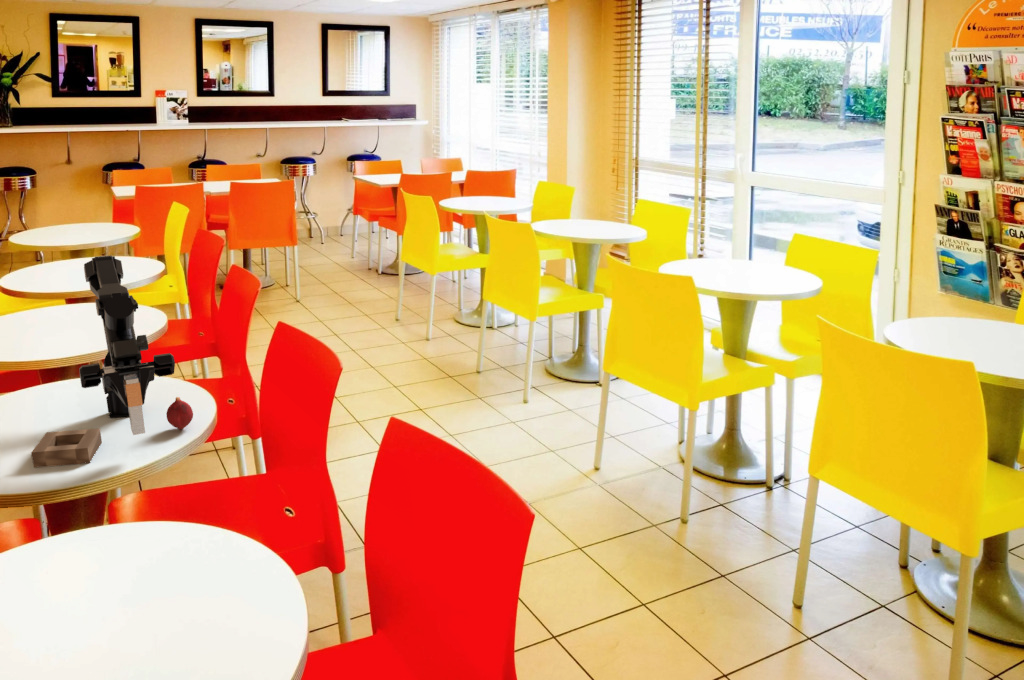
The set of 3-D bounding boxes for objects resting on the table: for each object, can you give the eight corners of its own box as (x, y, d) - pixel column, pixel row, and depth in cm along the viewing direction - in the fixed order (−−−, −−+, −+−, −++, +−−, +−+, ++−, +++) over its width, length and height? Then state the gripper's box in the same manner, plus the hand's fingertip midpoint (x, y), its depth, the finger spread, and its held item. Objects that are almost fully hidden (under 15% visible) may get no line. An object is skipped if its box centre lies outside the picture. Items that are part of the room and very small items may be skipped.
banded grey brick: (130, 429, 185) (122, 375, 182) (143, 427, 187) (136, 373, 183) (132, 435, 182) (124, 380, 178) (146, 433, 183) (139, 378, 180)
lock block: (101, 442, 193) (99, 428, 192) (89, 462, 183) (87, 447, 182) (49, 446, 191) (46, 432, 190) (33, 467, 180) (31, 452, 179)
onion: (199, 429, 201) (195, 397, 198) (175, 436, 197) (171, 403, 194) (187, 422, 204) (183, 391, 202) (164, 429, 200) (160, 397, 198)
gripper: (73, 329, 176) (85, 396, 170) (168, 317, 185) (183, 380, 179) (75, 355, 185) (87, 419, 179) (166, 342, 194) (180, 403, 188)
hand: (135, 405), depth 181 cm, fingers closed on banded grey brick, 3 cm apart
